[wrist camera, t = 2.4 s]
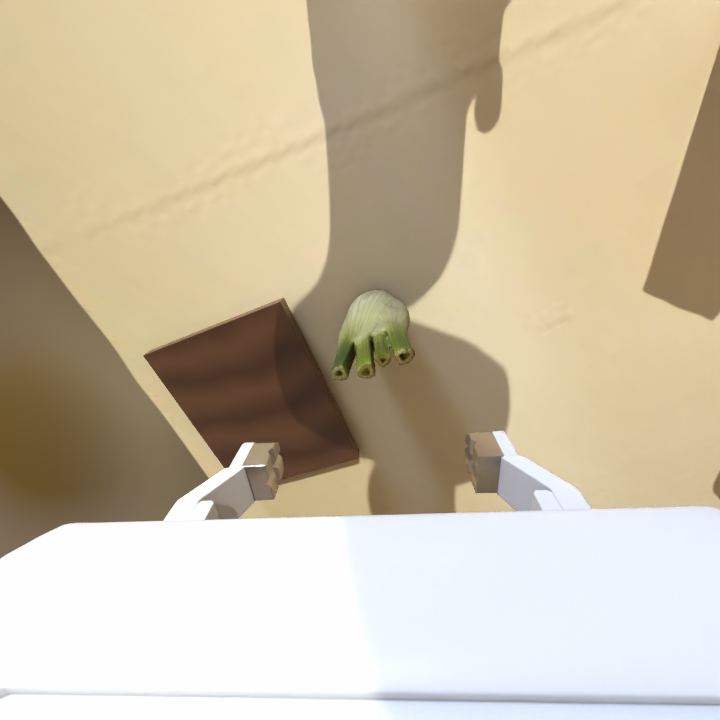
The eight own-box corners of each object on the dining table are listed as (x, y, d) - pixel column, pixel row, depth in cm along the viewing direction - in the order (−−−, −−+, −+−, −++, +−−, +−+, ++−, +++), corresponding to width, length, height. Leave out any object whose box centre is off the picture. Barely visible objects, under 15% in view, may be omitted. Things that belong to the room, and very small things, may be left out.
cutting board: (151, 349, 35) (142, 355, 34) (283, 297, 32) (279, 301, 31) (245, 481, 43) (240, 490, 42) (359, 449, 40) (358, 458, 39)
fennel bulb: (342, 329, 33) (325, 389, 23) (349, 280, 31) (334, 322, 20) (399, 338, 34) (409, 403, 23) (409, 290, 31) (426, 337, 21)
